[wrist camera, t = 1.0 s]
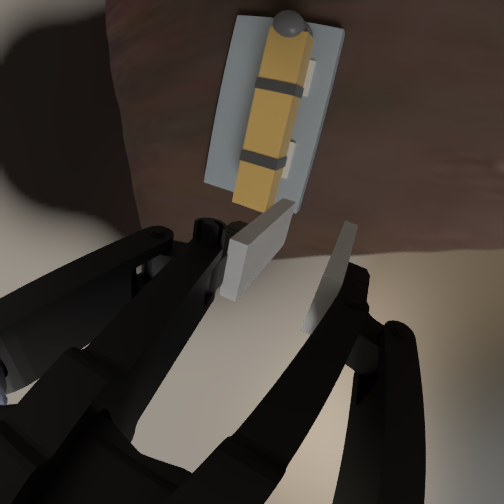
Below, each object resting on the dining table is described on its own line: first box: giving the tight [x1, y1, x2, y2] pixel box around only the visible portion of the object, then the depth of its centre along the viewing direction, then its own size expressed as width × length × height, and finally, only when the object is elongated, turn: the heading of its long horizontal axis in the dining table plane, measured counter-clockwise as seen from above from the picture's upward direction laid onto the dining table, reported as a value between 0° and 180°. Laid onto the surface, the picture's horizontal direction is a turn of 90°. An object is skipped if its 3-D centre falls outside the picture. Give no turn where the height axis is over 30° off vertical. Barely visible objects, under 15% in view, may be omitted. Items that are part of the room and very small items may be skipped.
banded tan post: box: [232, 10, 314, 213], centre depth 29 cm, size 22×4×5 cm, turn 168°
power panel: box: [204, 15, 345, 213], centre depth 32 cm, size 23×13×2 cm, turn 168°
